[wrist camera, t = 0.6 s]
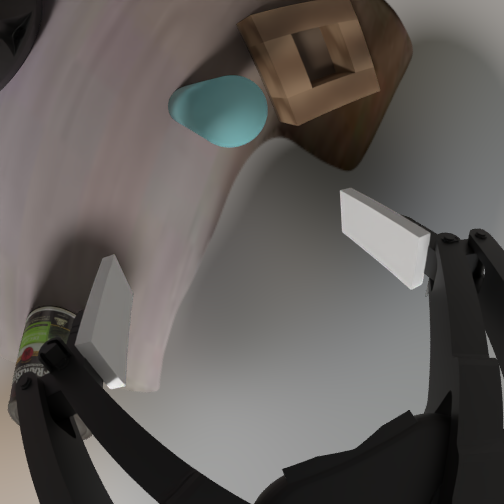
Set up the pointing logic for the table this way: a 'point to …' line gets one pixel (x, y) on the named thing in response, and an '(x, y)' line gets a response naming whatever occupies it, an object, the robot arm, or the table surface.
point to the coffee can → (35, 335)
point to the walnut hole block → (310, 57)
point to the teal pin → (221, 109)
